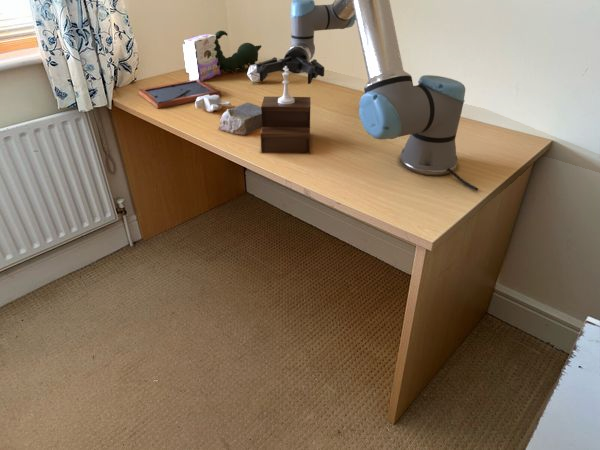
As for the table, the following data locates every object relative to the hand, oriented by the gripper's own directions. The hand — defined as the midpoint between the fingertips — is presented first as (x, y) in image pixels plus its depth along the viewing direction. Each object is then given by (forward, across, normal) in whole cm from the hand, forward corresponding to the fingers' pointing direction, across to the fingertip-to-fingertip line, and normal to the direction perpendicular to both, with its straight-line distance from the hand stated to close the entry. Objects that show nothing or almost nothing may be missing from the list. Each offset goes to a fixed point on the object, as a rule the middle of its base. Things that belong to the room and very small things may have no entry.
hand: (284, 77), depth 121 cm
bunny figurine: (-23, +31, -20) cm, 44 cm away
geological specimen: (-10, +15, -20) cm, 27 cm away
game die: (-58, +23, -20) cm, 66 cm away
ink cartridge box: (-69, +53, -20) cm, 90 cm away
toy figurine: (-75, +36, -20) cm, 85 cm away
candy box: (-62, +47, -20) cm, 80 cm away
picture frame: (-37, +49, -20) cm, 65 cm away
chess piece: (-2, 0, -8) cm, 8 cm away
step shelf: (0, 0, -20) cm, 20 cm away
